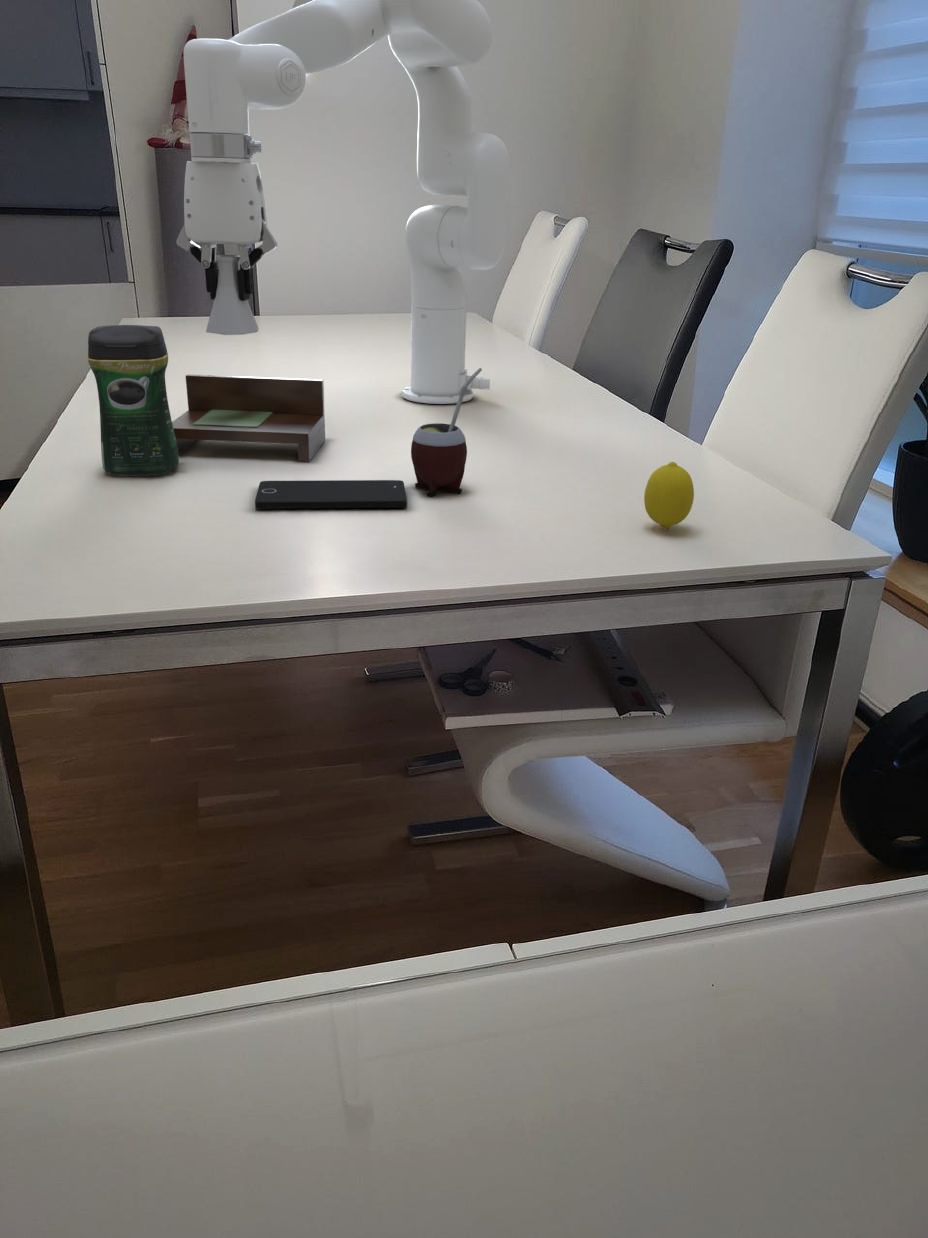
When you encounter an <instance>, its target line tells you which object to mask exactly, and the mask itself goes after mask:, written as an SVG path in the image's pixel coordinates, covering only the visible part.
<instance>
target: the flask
mask: <svg viewBox="0 0 928 1238" xmlns="http://www.w3.org/2000/svg"><path fill="white" fill-rule="evenodd" d="M216 262H217V267H218V268H219V275H218V285H217V290H216V298H215V299H214V300H213V304H212V307H211V311H210V314H209V318H208V320H207V321H208V322H207V325H206V329H205V333H207V334H214V335H215V334H216V335H221V336H241V335H248V334H255V333H258V332H259V329H260V328H259V326H258V324H257V323H258V322H257V321H256V318H255V316H254V313H253V311H252V309H251V306H250V304H249V301H248V300H246V301H241V300H240V299H239V287H238V270H239V262H240V257H239V254H237V255H236V254H216Z"/></svg>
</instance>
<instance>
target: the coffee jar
mask: <svg viewBox="0 0 928 1238" xmlns="http://www.w3.org/2000/svg"><path fill="white" fill-rule="evenodd" d="M87 344H88V346H87V361H88V365H89V367H90V370H91V372H92V374H93V375H94V379H95V382H96V387H97V388H96V389H97V396H98V406H99V422H100V423H99V425H100V426H99V427H100V451H101V452H100V453H101V454H100V455H101V465H102V470H104V471H105V473H107V474H109V475H111V476H122V477H147V476H156V475H164V474H167V473H168V472H169V473H170V472H172V471H173V472H174V470H176V469H177V468H178V466H179V464H180V457H179V456H180V455H178V448H177V443H176V438H175V433H174V429H173V424H172V422H173V420H172V417H171V416H172V415H171V410H170V405H169V400H168V393H167V383H166V370H167V367H168V364H169V352H168V348H167V344H166V341H165V336H164V333H163V331H162V328H161V327H160V326H158V325H141V324H113V325H110V324H109V325H100V326H96V327H94V328H93V329H90V331H89V333H88V339H87Z"/></svg>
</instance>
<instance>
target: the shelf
mask: <svg viewBox="0 0 928 1238" xmlns="http://www.w3.org/2000/svg"><path fill="white" fill-rule="evenodd" d="M185 387H186V399H187V409H188V410H187V411H185V412H184V413H182V414H181V415H179V416H178V417H177V418H175V419H174V420H172V424H173V429H174V433H175V438H176V443H177V448H178V455H179V456H180V455H181V454H182V453H184V452H185V451H186V450H187V449H188V448H189V447H191V446H192V445H193V444H194V443H195V442H196V441H216V442H217V441H219V442H240V443H241V442H242V443H243V442H244V443H264V444H265V443H269V444H270V443H271V444H292V445H297V451H298V452H297V455H298V462H299V463H310V462H311V461H312V460H313V458H314V457H315V455H316V454H317V452H318V451H319V450H320V448H321V447H322V445H323V444H324V443H325V442H326V419H325V388H324V387H325V385H324V379H321V378H320V379H319V378H318V379H317V378H314V379H313V378H292V377H267V376H265V377H264V376H242V375H237V376H236V375H216V374H215V375H212V374H186V375H185Z"/></svg>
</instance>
